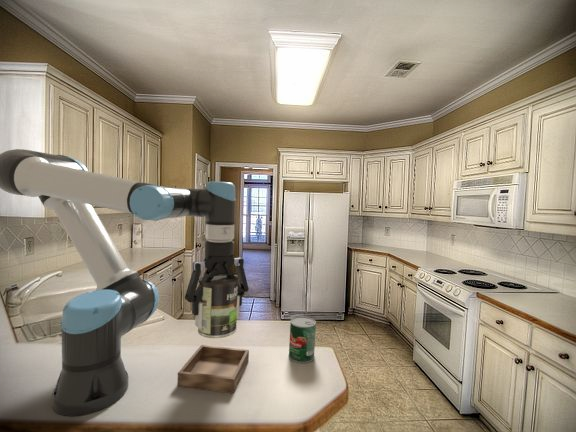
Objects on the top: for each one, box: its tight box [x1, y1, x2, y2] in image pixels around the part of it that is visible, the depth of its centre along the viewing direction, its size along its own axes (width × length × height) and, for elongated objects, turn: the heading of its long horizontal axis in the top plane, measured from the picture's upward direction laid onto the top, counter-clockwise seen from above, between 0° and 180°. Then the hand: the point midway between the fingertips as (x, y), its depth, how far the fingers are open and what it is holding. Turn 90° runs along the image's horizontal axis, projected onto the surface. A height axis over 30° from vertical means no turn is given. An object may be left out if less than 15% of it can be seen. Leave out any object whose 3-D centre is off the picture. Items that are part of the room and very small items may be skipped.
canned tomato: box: [288, 316, 317, 364], centre depth 92 cm, size 8×8×11 cm
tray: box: [177, 344, 250, 394], centre depth 82 cm, size 15×15×4 cm
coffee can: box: [197, 275, 239, 339], centre depth 81 cm, size 10×10×14 cm
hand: (217, 321), depth 81 cm, fingers closed on coffee can, 10 cm apart
